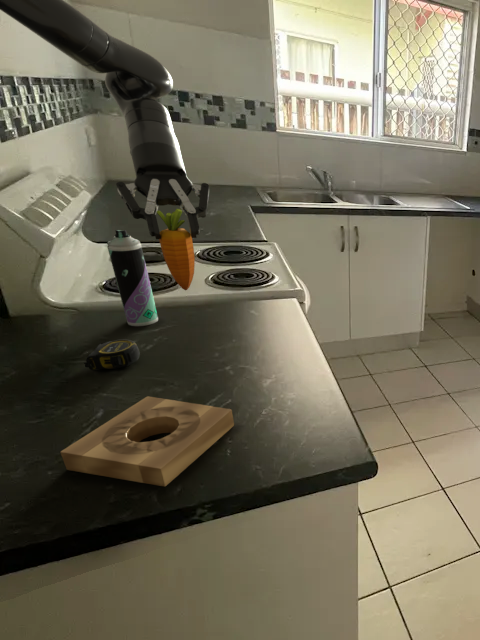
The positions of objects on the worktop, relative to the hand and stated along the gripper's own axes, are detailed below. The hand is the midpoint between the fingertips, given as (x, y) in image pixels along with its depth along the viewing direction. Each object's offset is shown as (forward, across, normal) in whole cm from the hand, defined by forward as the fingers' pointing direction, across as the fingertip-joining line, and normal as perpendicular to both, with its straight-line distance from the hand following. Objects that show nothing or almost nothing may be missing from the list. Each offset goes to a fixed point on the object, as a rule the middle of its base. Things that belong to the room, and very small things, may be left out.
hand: (176, 235), depth 82 cm
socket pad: (+36, -8, -2) cm, 37 cm away
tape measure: (+15, -13, +19) cm, 27 cm away
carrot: (+6, 0, +9) cm, 11 cm away
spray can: (+1, -8, +33) cm, 34 cm away
